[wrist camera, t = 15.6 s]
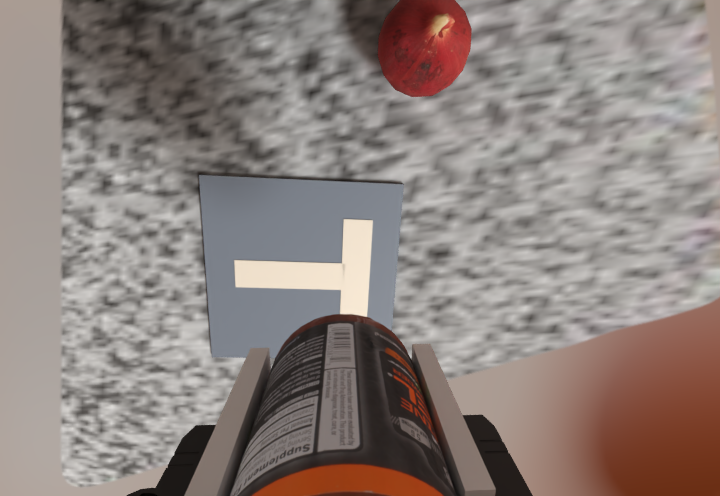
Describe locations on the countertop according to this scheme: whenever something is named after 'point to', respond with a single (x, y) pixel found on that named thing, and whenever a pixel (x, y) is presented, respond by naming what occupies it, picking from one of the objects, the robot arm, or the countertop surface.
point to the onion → (424, 45)
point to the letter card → (295, 256)
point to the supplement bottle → (343, 419)
